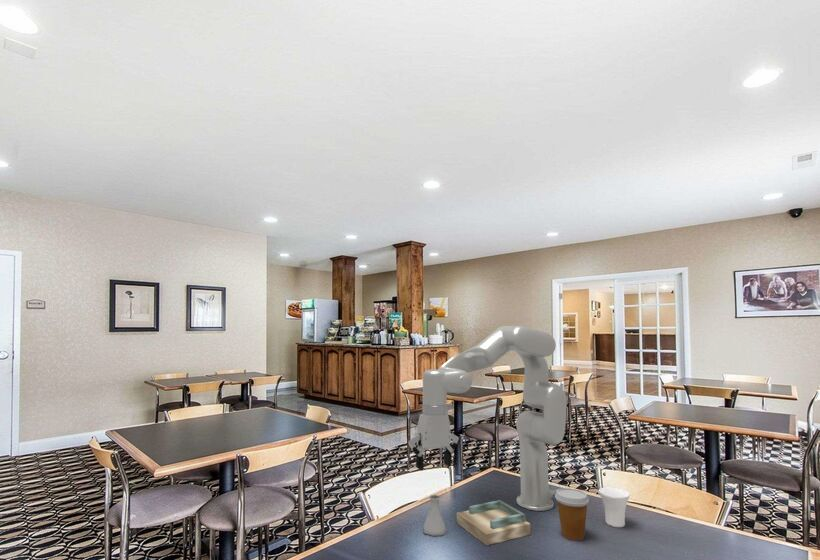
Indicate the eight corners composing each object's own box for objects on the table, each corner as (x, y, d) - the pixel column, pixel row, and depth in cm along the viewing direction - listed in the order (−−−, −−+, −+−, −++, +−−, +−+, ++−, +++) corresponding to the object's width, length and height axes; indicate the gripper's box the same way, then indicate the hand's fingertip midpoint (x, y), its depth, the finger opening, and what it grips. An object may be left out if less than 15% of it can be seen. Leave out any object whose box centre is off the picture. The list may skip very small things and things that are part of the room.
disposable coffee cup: (574, 546, 121) (572, 501, 122) (549, 532, 129) (548, 490, 131) (597, 539, 125) (595, 496, 127) (571, 525, 134) (570, 485, 135)
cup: (596, 516, 140) (594, 484, 142) (626, 519, 139) (625, 487, 140) (602, 529, 132) (600, 494, 133) (635, 532, 130) (633, 497, 131)
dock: (497, 513, 142) (497, 497, 143) (530, 534, 128) (530, 516, 129) (456, 522, 136) (456, 506, 136) (486, 545, 121) (486, 526, 122)
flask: (445, 538, 126) (445, 502, 127) (421, 535, 127) (421, 500, 128) (448, 527, 133) (447, 493, 134) (425, 524, 134) (425, 491, 135)
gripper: (451, 406, 141) (451, 460, 139) (404, 409, 134) (403, 467, 132) (464, 410, 134) (464, 467, 132) (415, 414, 127) (414, 474, 125)
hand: (433, 467), depth 132 cm, fingers open, 9 cm apart
